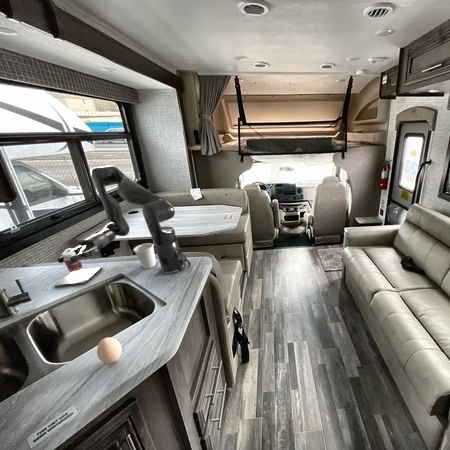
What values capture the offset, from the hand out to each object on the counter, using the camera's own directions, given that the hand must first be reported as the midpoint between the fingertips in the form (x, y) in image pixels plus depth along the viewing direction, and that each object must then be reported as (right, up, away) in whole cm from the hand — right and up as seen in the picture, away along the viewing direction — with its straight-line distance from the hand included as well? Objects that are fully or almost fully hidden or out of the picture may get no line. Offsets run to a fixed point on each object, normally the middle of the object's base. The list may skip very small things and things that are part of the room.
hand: (65, 261), depth 104 cm
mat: (0, -9, +6) cm, 11 cm away
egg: (+48, -24, -34) cm, 63 cm away
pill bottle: (0, -5, +5) cm, 7 cm away
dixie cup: (+27, -4, +15) cm, 31 cm away
